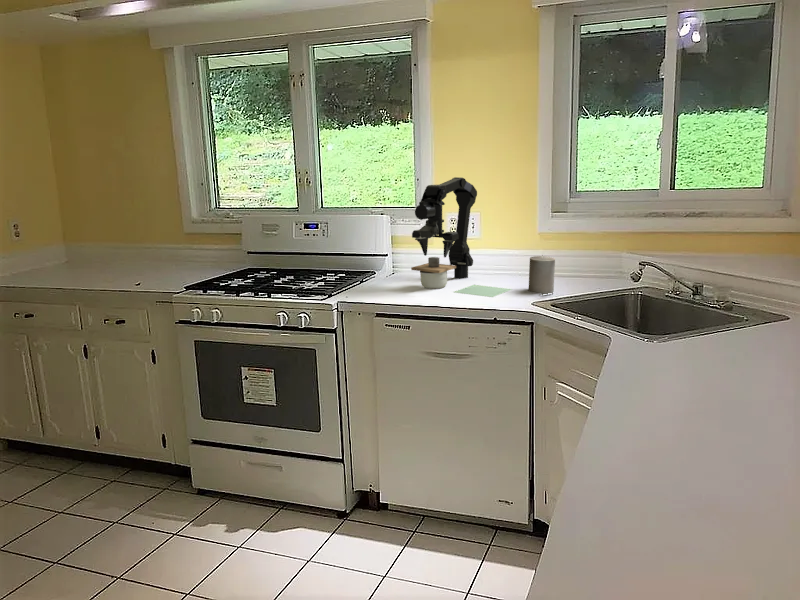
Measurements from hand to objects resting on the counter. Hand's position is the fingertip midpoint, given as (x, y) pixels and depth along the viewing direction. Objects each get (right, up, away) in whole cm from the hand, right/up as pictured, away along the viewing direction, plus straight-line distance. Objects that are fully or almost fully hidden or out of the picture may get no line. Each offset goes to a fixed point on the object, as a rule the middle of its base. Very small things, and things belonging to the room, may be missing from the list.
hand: (435, 256), depth 275 cm
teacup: (0, -13, +2) cm, 13 cm away
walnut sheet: (0, -5, 0) cm, 5 cm away
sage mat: (+18, -15, -8) cm, 25 cm away
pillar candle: (+41, -15, -9) cm, 44 cm away
